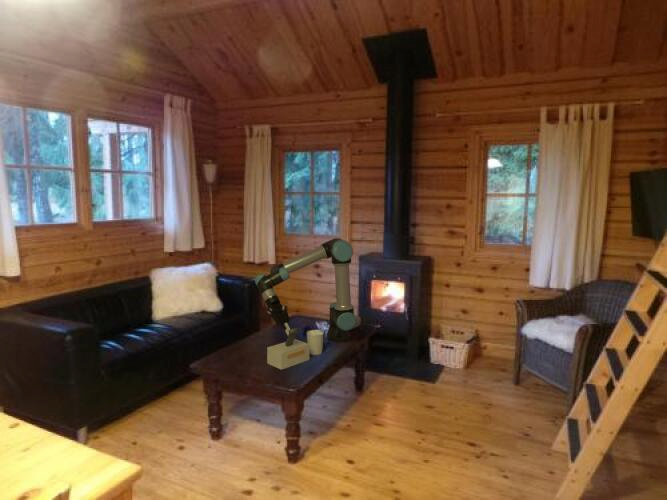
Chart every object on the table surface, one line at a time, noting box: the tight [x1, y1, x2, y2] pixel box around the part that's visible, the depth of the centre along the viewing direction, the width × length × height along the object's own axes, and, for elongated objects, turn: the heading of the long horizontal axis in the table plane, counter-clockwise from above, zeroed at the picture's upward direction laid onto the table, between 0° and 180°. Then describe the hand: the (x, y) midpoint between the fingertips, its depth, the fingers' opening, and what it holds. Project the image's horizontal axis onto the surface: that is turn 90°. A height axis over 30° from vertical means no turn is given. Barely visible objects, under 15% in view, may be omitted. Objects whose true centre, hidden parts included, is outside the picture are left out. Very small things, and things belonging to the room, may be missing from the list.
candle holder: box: [306, 329, 324, 356], centre depth 267 cm, size 10×10×12 cm
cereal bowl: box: [351, 315, 362, 330], centre depth 314 cm, size 17×17×7 cm
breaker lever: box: [285, 327, 300, 346], centre depth 250 cm, size 5×2×11 cm, turn 135°
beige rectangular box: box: [266, 338, 310, 370], centre depth 253 cm, size 20×12×9 cm, turn 135°
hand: (289, 334), depth 250 cm, fingers closed
